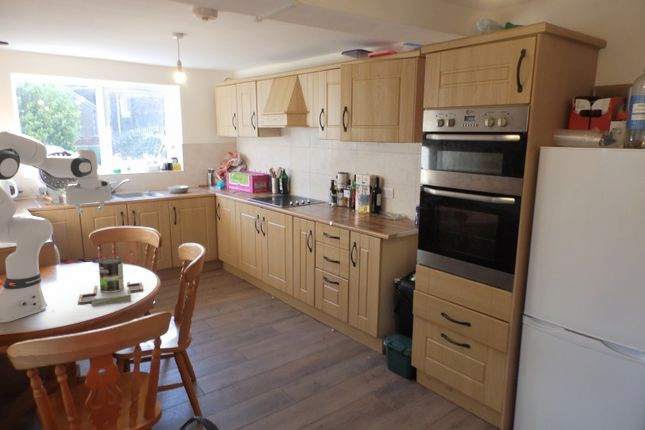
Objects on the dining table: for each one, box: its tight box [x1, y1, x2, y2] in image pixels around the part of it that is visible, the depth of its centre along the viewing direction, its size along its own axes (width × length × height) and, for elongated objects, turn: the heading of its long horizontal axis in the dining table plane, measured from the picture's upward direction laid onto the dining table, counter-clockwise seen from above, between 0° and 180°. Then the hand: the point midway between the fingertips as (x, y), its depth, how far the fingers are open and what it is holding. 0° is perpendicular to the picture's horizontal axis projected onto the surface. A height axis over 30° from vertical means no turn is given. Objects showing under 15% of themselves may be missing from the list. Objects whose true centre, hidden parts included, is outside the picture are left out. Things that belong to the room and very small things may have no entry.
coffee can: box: [98, 257, 125, 294], centre depth 203 cm, size 10×10×14 cm
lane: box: [77, 281, 144, 306], centre depth 197 cm, size 24×26×2 cm
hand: (90, 212), depth 204 cm, fingers open, 8 cm apart
